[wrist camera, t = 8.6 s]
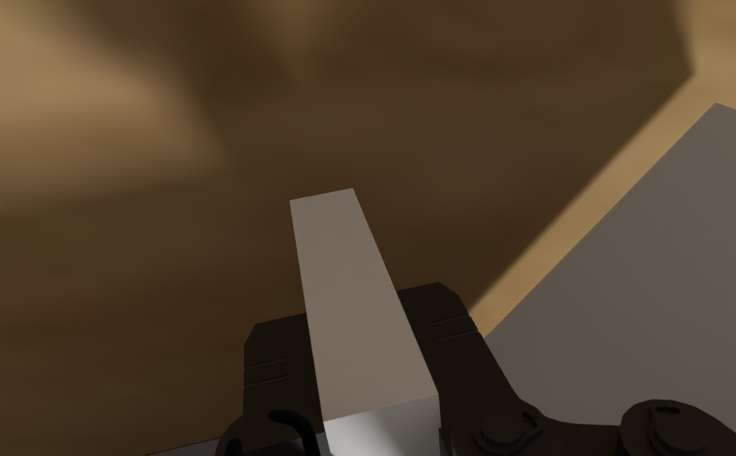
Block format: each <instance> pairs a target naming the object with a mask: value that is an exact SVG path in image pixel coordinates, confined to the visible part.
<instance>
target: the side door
mask: <svg viewBox="0 0 736 456" xmlns="http://www.w3.org/2000/svg"><path fill="white" fill-rule="evenodd" d="M484 340H485V342H486V344H487V346H488V347H489V349H490V351H491V352H492V354H493V356H494V358H495V359H496V361H497V363H498V364H499V366H500V368H501V369H502V371H503V373H504V375H505V376H506V378H507V380H508V381H509V383H510V385H511V387H512V388H513V390H514V391H515V393H516V394H517V395H518V397H519V398H520V399H522V400H524V401H525V402H527V403H529V404H531V405H533V406H534V407H536V408H538V410H539V411H540V412H541V413H542V414H543V415H544V416H546V417H549V418H552V419H555V420H558V421H561V422H568V423H576V424H596V425H620V424H621V420H622V416H623V414H624V413H625V412H626V411H627V410H628V409H630V408H631V407H632V406H633V405H634V404H637V403H640V402H643V401H647V400H650V399H663V400H675V401H678V402H682V403H685V404H689V405H692V406H695V407H697V408H699V409H701V410H702V411H704V412H706V413H708V414H709V415H711V416H713V417H715V418H716V419H718V420H719V421H721V422H722V423H723V424H725V425H726V426H727V427H729V428H730V429H731V430H733V431H734V432H735V433H736V110H735V109H732V108H729V107H727V106H724V105H721V104H718V103H715V104H714V105H713V106H712V107H711V108H710V109H709V110H708V111H707V112H706V113H705V114H704V115H703V116H702V117H701V118H700V119H699V120H698V121H697V122H696V123H695V124H694V125H693V126H692V127H691V128H690V129H689V130H688V131H687V132H686V133H685V134H684V135H683V136H682V137H681V138H680V139H679V140H678V141H677V142H676V143H675V144H674V145H673V146H672V147H671V148H670V149H669V150H668V152H667V153H666V154H665V155H664V156H663V157H662V158H661V159H660V160H659V161H658V162H657V163H656V164H655V165H654V166H653V167H652V168H651V169H650V170H649V171H648V172H647V173H646V174H645V175H644V176H643V177H642V178H641V179H640V180H639V181H638V182H637V183H636V184H635V185H634V186H633V187H632V188H631V189H630V190H629V191H628V192H627V193H626V194H625V195H624V196H623V197H622V198H621V199H620V201H619V202H618V203H617V204H616V205H615V206H614V207H613V208H612V209H611V210H610V211H609V212H608V213H607V214H606V215H605V216H604V217H603V218H602V219H601V220H600V221H599V222H598V223H597V224H596V225H595V226H594V227H593V228H592V229H591V230H590V231H589V232H588V233H587V234H586V235H585V236H584V237H583V238H582V239H581V240H580V241H579V242H578V243H577V244H576V245H575V246H574V247H573V249H572V250H571V251H570V252H569V253H568V254H567V255H566V256H565V257H564V258H563V259H562V260H561V261H560V262H559V263H558V264H557V265H556V266H555V267H554V268H553V269H552V270H551V271H550V272H549V273H548V274H547V275H546V276H545V277H544V278H543V279H542V280H541V281H540V282H539V283H538V284H537V285H536V286H535V287H534V288H533V289H532V290H531V291H530V292H529V293H528V294H527V295H526V297H525V298H524V299H523V300H522V301H521V302H520V303H519V304H518V305H517V306H516V307H515V308H514V309H513V310H512V311H511V312H510V313H509V314H508V315H507V316H506V317H505V318H504V319H503V320H502V321H501V322H500V323H499V324H498V325H497V326H496V327H495V328H494V329H493V330H492V331H491V332H490V333H489V334H488V335H487V336H486V337H485V338H484Z"/></svg>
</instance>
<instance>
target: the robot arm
mask: <svg viewBox="0 0 736 456" xmlns="http://www.w3.org/2000/svg"><path fill="white" fill-rule="evenodd" d="M289 201H290V208H291V214H292V221H293V227H294V234H295V240H296V247H297V253H298V260H299V266H300V273H301V280H302V286H303V293H304V299H305V306H306V312H307V313H303V314H298V315H294V316H289V317H285V318H280V319H276V320H271V321H267V322H262V323H257V324H255V326H254V328H253V330H252V332H251V333H250V335H249V337H248V339H247V341H246V342H245V344H244V369H245V371H244V403H243V415H242V416H241V417H240V418H238V419H237V420H236V421H234V422H233V423H232V424H231V425H230V426H229V427H228V429H227V430H226V431H225V433H224V434H223V436H222V437H221V438H220V440H219V441H218V445H217V448H216V451H215V455H214V456H736V433H735V432H734V431H733V430H731V429H730V428H729V427H727V426H726V425H725V424H723V423H722V422H721V421H719V420H718V419H716V418H715V417H713V416H711V415H709V414H708V413H706V412H704V411H702V410H701V409H699V408H697V407H695V406H692V405H689V404H685V403H682V402H678V401H675V400H663V399H650V400H647V401H643V402H640V403H637V404H634V405H633V406H632V407H631V408H630V409H628V410H627V411H626V412H625V413H624V414H623V416H622V420H621V424H620V425H596V424H576V423H568V422H561V421H558V420H555V419H552V418H549V417H546V416H544V415H543V414H542V413H541V412H540V411H539V410H538V408H536V407H534V406H533V405H531V404H529V403H527V402H525V401H524V400H522V399H520V398H519V397H518V395H517V394H516V393H515V391H514V390H513V388H512V387H511V385H510V383H509V381H508V380H507V378H506V376H505V375H504V373H503V371H502V369H501V368H500V366H499V364H498V363H497V361H496V359H495V358H494V356H493V354H492V352H491V351H490V349H489V347H488V346H487V344H486V342H485V340H484V339H483V337H482V335H481V334H480V333H479V332H478V328H477V327H476V325H475V323H474V322H473V320H472V318H471V317H469V313H468V311H467V310H466V308H465V306H464V305H463V303H462V301H461V299H460V298H459V296H458V295H457V294H455V293H454V292H453V291H451V290H450V289H448V288H447V287H445V286H444V285H442V284H441V283H439V282H436V283H432V284H427V285H422V286H418V287H413V288H409V289H404V290H400V291H395V288H394V286H393V283H392V281H391V279H390V276H389V274H388V271H387V269H386V267H385V264H384V262H383V259H382V257H381V255H380V252H379V250H378V247H377V245H376V243H375V240H374V238H373V235H372V233H371V230H370V228H369V226H368V223H367V221H366V218H365V216H364V214H363V211H362V209H361V206H360V204H359V202H358V199H357V197H356V194H355V192H354V190H353V188H350V189H345V190H340V191H335V192H329V193H324V194H319V195H314V196H309V197H304V198H299V199H294V200H289Z"/></svg>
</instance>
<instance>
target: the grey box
mask: <svg viewBox="0 0 736 456" xmlns="http://www.w3.org/2000/svg"><path fill="white" fill-rule="evenodd" d="M219 440H220V438H219V439H215V440H210V441H206V442H202V443H198V444H194V445H189V446H185V447H181V448H177V449H173V450H169V451H164V452H160V453H156V454H152V455H148V456H214V455H215V451H216V448H217V445H218V441H219Z"/></svg>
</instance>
